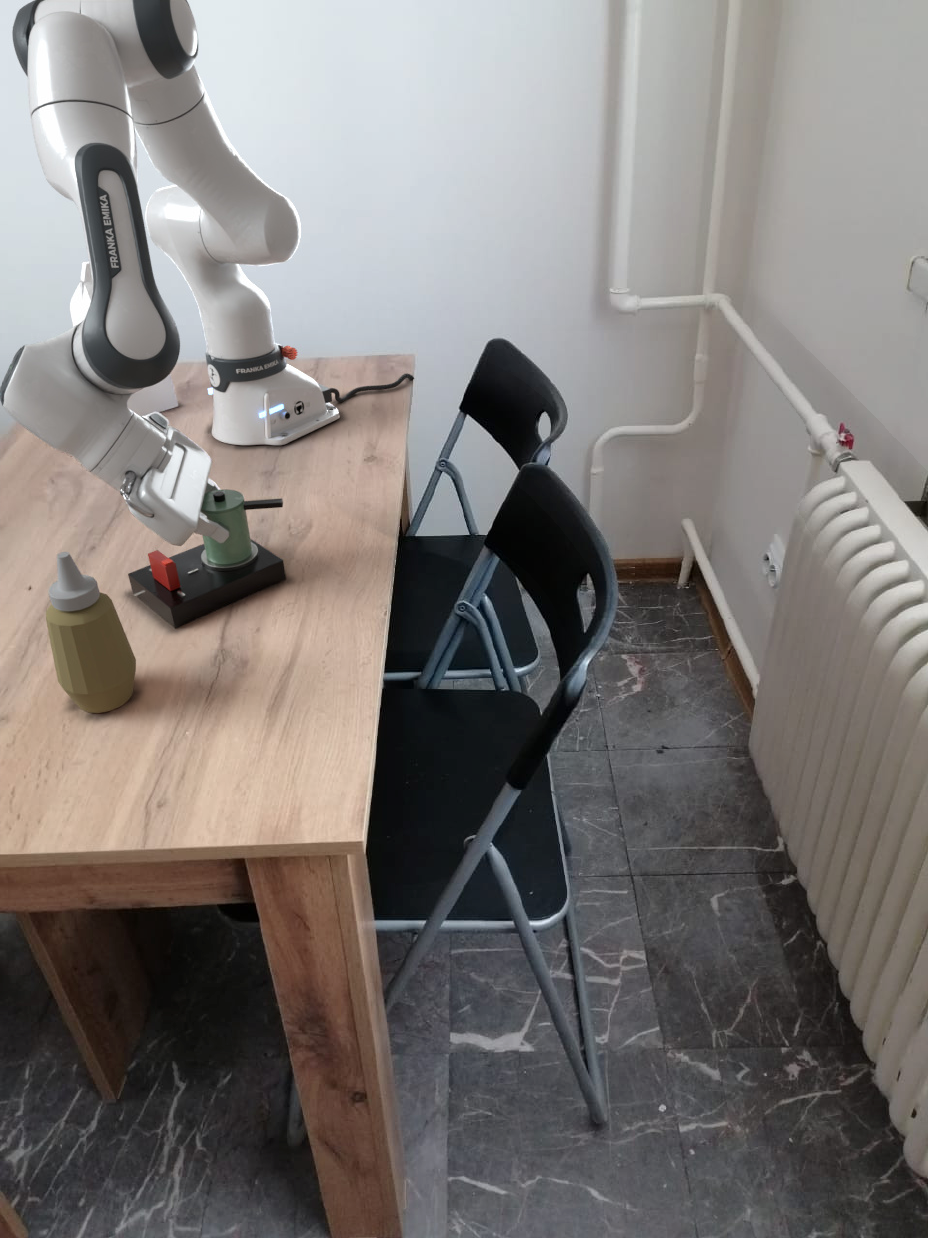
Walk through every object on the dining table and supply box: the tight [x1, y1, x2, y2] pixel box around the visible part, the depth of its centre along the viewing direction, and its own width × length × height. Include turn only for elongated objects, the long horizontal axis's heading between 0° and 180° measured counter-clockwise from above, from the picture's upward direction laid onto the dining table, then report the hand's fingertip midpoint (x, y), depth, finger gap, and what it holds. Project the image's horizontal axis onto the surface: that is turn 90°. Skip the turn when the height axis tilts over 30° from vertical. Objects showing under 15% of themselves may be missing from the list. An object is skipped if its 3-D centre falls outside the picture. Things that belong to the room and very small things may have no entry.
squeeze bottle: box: [45, 551, 137, 714], centre depth 98 cm, size 8×8×18 cm
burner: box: [201, 542, 258, 571], centre depth 121 cm, size 7×7×1 cm
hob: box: [127, 538, 287, 629], centre depth 120 cm, size 18×11×3 cm, turn 133°
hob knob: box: [147, 549, 181, 591], centre depth 115 cm, size 4×1×4 cm, turn 43°
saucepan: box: [201, 489, 284, 564], centre depth 119 cm, size 9×8×8 cm
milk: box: [69, 260, 179, 417], centre depth 166 cm, size 12×12×26 cm
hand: (229, 522), depth 119 cm, fingers closed on saucepan, 6 cm apart
